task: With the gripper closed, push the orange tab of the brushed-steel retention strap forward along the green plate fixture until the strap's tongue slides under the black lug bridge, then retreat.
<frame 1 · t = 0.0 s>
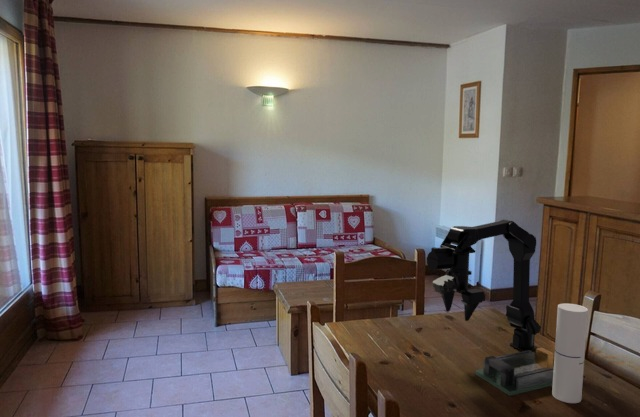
hand: (457, 315, 153), 15 cm above the table, fingers open, 9 cm apart
green plate fixture: (521, 377, 143), on the table
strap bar: (529, 362, 144), point 4 cm above the table, slide at 0.0 cm
cylindrical container: (566, 397, 133), on the table
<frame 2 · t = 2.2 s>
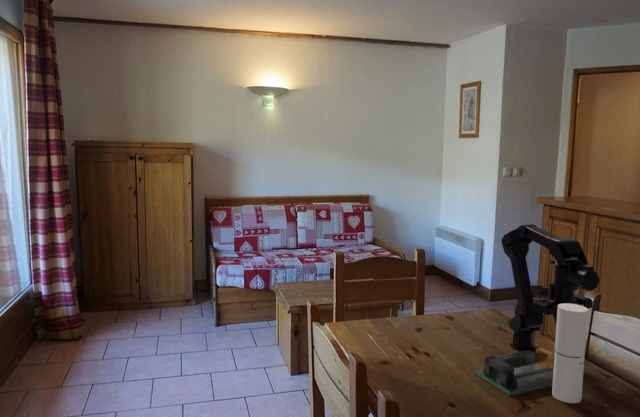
hand: (561, 331, 148), 12 cm above the table, fingers closed
nothing on the table moved.
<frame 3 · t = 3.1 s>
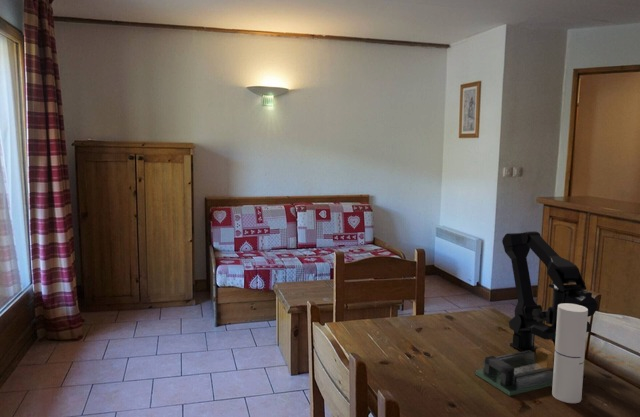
hand: (559, 355, 149), 5 cm above the table, fingers closed
nothing on the table moved.
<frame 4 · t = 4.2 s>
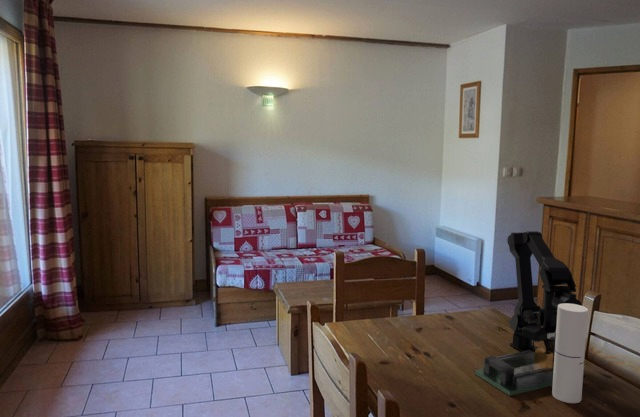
hand: (550, 357, 147), 5 cm above the table, fingers closed
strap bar: (528, 362, 144), point 4 cm above the table, slide at 0.2 cm, touching gripper
everything else where it was.
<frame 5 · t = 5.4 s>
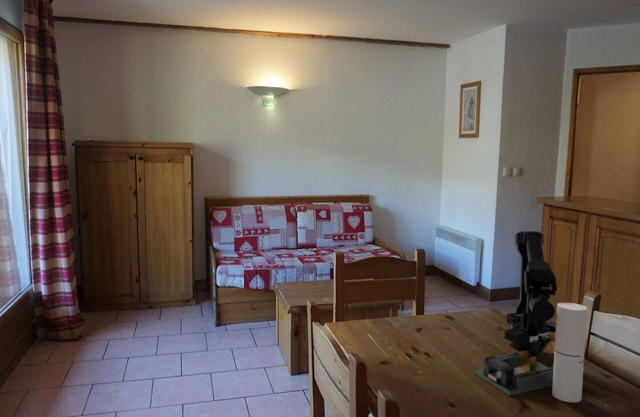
hand: (534, 360, 145), 5 cm above the table, fingers closed
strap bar: (511, 366, 141), point 4 cm above the table, slide at 6.9 cm, touching gripper
everything else where it was.
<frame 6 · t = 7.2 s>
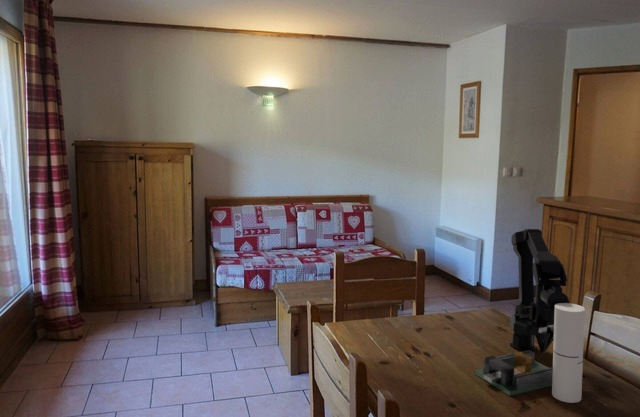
hand: (542, 351, 145), 7 cm above the table, fingers closed
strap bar: (507, 367, 141), point 4 cm above the table, slide at 8.5 cm
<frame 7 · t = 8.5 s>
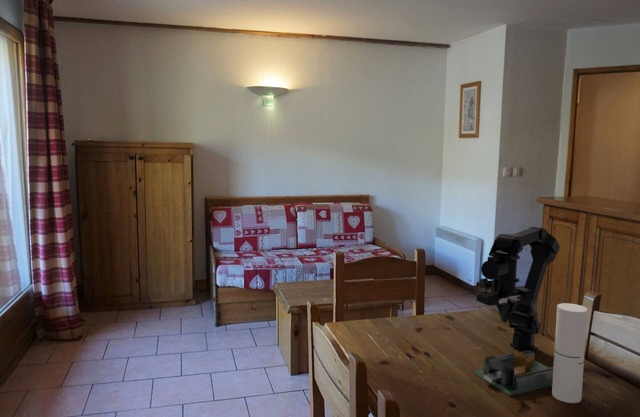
hand: (504, 321, 156), 12 cm above the table, fingers closed
nothing on the table moved.
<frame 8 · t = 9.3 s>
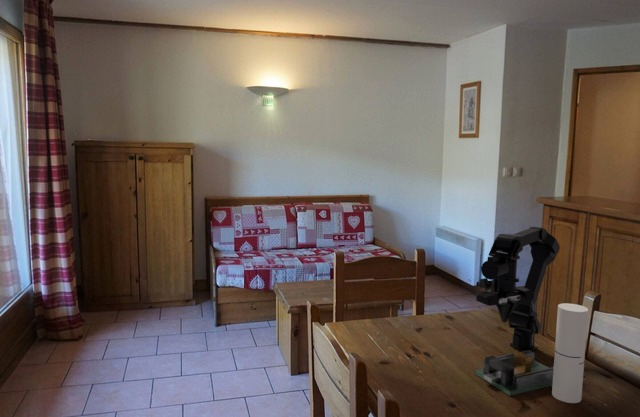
hand: (504, 321, 156), 12 cm above the table, fingers closed
nothing on the table moved.
at the end: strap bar slide at 8.5 cm; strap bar touching nothing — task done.
